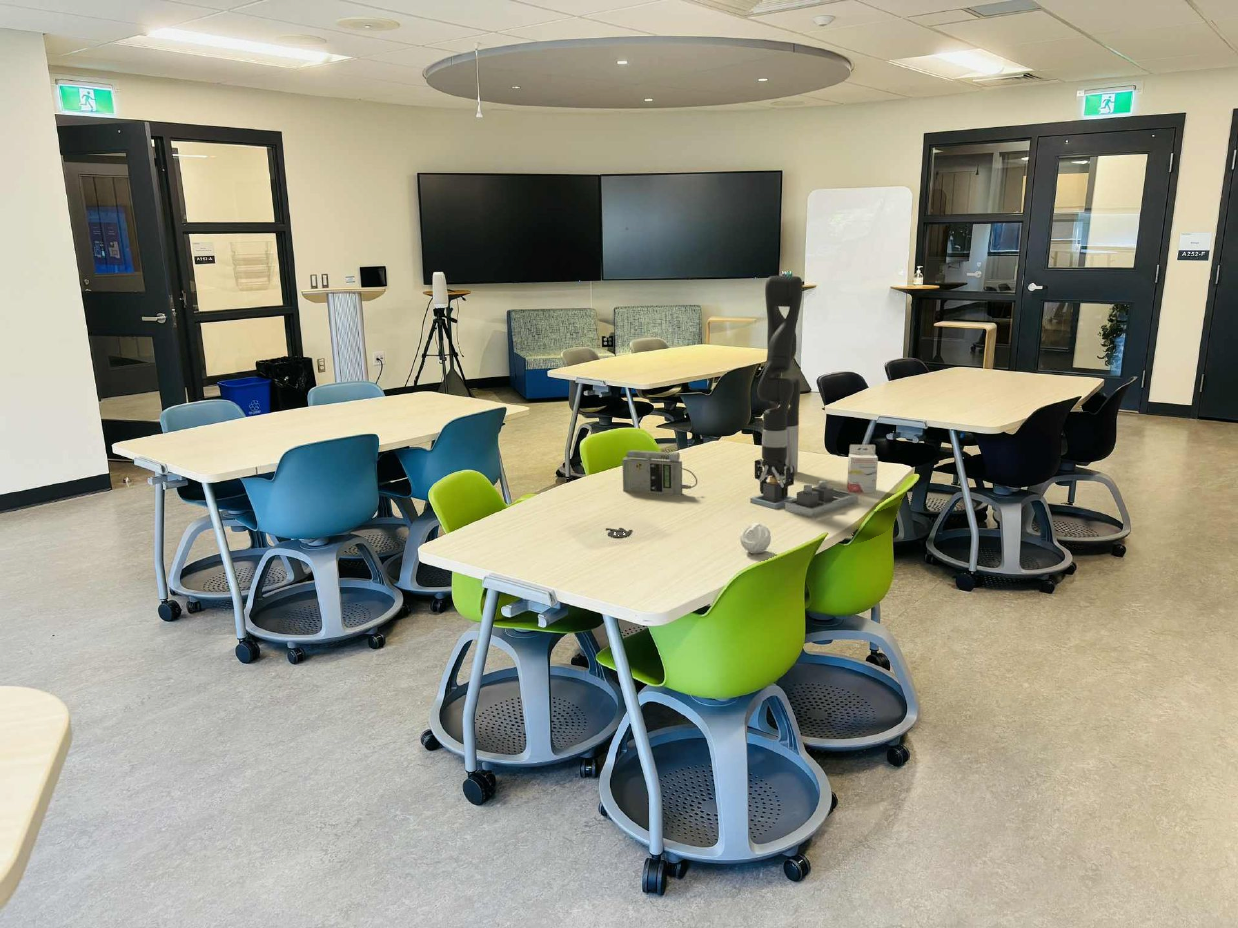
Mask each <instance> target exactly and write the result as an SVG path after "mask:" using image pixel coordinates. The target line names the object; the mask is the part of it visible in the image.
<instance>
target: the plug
mask: <svg viewBox="0 0 1238 928" xmlns="http://www.w3.org/2000/svg"><path fill="white" fill-rule="evenodd" d="M780 487H781V485H780V483H779V481H777V479H776V477H773V476H769V481H767V483H764V484H763V494H762V495H763V500H764V501H768V502H772V503H778V502H781V501H784V499H781V498H780Z"/></svg>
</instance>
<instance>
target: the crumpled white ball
mask: <svg viewBox="0 0 1238 928" xmlns="http://www.w3.org/2000/svg"><path fill="white" fill-rule="evenodd" d="M771 536H772V535H771V531H770V530H769V528H768V527H767V526H766V525H765V524H761V523H760V522H755V523H751V524H749V525H747V526H746V527H744V529H743V530H742V531H741V533H740V536H739V540H740V544H741V546H742V547H743V548H744V550H745V551H747V552H749V553H751V554H761V553H763V552H765V551H767V549H768V547H769V546H770V544H771V541H772V540H771V539H772V537H771Z"/></svg>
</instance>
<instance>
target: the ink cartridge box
mask: <svg viewBox="0 0 1238 928" xmlns="http://www.w3.org/2000/svg"><path fill="white" fill-rule="evenodd" d="M862 448H863V449H862ZM878 457H879V456H877V454H876V445H875V444H850V445H849V453H848V461H847V462H848V464H847V465H848V466H847V480H846V481H847V483H846V489H847V492H850V493H856V494H860V493H861V494H862V493H865V494H867V493H868V494H872V493H873V494H874V493H875V494H877V479H878V463H879V458H878Z"/></svg>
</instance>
